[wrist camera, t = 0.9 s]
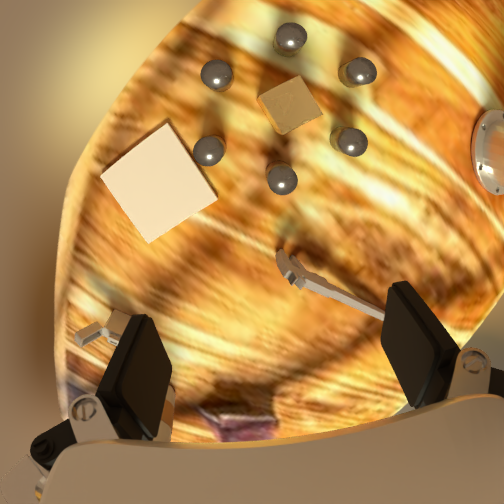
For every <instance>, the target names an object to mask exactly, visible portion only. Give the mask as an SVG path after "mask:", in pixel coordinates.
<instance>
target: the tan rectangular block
mask: <svg viewBox="0 0 504 504" xmlns="http://www.w3.org/2000/svg"><path fill="white" fill-rule="evenodd" d="M257 102H258V104H259V105H260V107H261V108H262V110H263V112H264V113H265V115H266V116H267V118H268V120H269V121H270V123H271V125H272V126H273V128H274V130H275V131H276V133H279V134H281V135H284V134H286V133H288V132H290V131H292V130H293V129H295V128H297V127H299V126H301V125H303V124H305V123H307V122H309V121H311V120H313V119H315V118H317V117H319V116H321V115H323V114H322V112H321V110H320V108H319V107H318V105H317V103H316V101H315V100H314V98H313V96H312V94H311V93H310V91H309V89H308V88H307V86H306V84H305V83H304V81H303V79H302V78H301V76H300V75H299V76H297V77H294V78H292V79H290V80H288V81H286V82H284V83H282V84H280V85H278V86H276V87H274V88H273V89H271V90H269V91H267V92H265V93H263V94H261V95H259V96H258V99H257Z"/></svg>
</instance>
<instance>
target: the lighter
mask: <svg viewBox="0 0 504 504" xmlns="http://www.w3.org/2000/svg"><path fill="white" fill-rule="evenodd" d="M130 318H131V316H130V315H127V314H125V313H123V312H121V311H119V310H116V309H114V311H113V312H112V314H111V316H110V317H109V319H108V321H107V323H106V324H105V326H104V328H103V327H102V326H101V325H100V324H99V323H98V322H95V323H93V324H91V325H89V326H87V327H85V328H83V329H81V330H79V331H77V332H76V333H75V341H76V342H77V344H78V345H79V346H80V347H83V346H85V345H87V344H88V343H90V342H92V341H94V340H95V339H97V338H99V337H101V336H102V335H103V336H104V337H107V338H108V341H107V342H109V343H111V344H113V345H115V346H117V345H118V343H119V340H120V338H121V336H122V334H123V332H124V330H125V328H126V326H127V324H128V322H129V320H130Z"/></svg>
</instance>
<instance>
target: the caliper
mask: <svg viewBox="0 0 504 504" xmlns="http://www.w3.org/2000/svg"><path fill="white" fill-rule="evenodd" d="M275 256H276V261H277V266H278V268H279V270H280V271H281V273H282V275H283V277H284V278H286V279H288V280H289V282H290V284H291V286H293V284H295V285H296V286H297V287H298V288H299V289H300V290H301V289H302V287H305V288H308V289H310V290H312V291H314V292H317V293H319V294H321V295H323V296H326V297H328V298H329V297H332V298H334V299H336V300H338V301H340V302H342V303H345V304H347V305H349V306H351V307H353V308H356V309H358V310H360V311H362V312H364V313H367V314H369V315H371V316H373V317H376V318H378V319H380V320H382V321H384V315H385V312H384V311H383V310H382V309H380V308H378V307H376V306H374V305H372V304H370V303H368V302H366V301H364V300H362V299H360V298H358V297H356V296H354V295H352V294H350V293H348V292H346V291H344V290H342V289H340V288H338V287H336V286H334V285H332V284H330V283H328V282H327V280H326V279H325V278H323V277H321V276H319V275H317V274H315V273H310V272H308V271H307V270H306V269H305V268H304V266H303V265H302V264H301V263H300V262H299V260H298V259H297V258H296V257H295V256H293V255H291V256H290V258H289V259H288V257H287V255H286V254H285V252H284V250H283V249H280V250H279V251H278V252H277V254H276V255H275Z"/></svg>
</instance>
